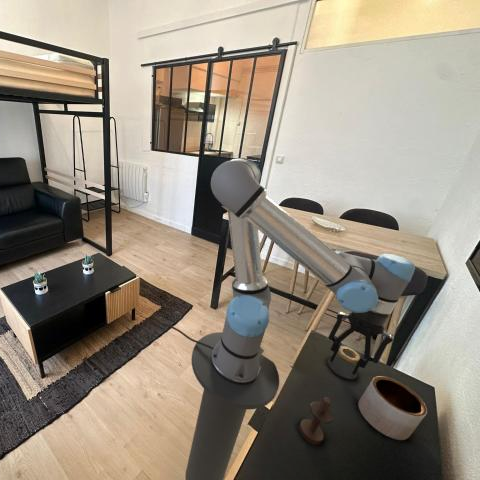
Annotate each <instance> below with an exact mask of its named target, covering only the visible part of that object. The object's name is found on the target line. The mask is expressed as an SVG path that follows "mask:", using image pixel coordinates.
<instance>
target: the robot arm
mask: <svg viewBox="0 0 480 480" xmlns="http://www.w3.org/2000/svg"><path fill="white" fill-rule="evenodd" d="M261 179H262V174H261V170H260V168H259V166H258V165H257V164H256V163H255V162H254V161H253V160H251V159H249V158H246V157H236V158H233V159H230V160H227V161H224V162H222V163H221V164H219V165H218V166H217V167H216V168H215V170H213V173H212V175H211V178H210V189H211V193H212V194H213V195H214V198H215V199H216V200H217V201H218V202H219V203H220V204H221V207H222V208H223V209H225V210H226V211H227V217H228V218H227V219H228V226H229V234H230V242H231V243H230V244H231V250H232V259H233V268H234V275H235V277H234V278H233V279H232V280H231V286H232V288H231V289H232V296H233V298H232V299H231V300H230V302H229V304H228V306H227V308H226V316H225V320H224V324H223V328H222V331H221V332H222V337H221V339H220V340H219V342H218V343H217V344H216V346H215V347H211V346H209V345H206V344H204V343H202V342H199V340H196V339H194V338H191V337H190V336H188V335H187V334H186V333H184V332H183V331H182V330H180V329H178V328H177V327H175V326H172V325H170V324H169V323H167V322H164V323H163V325H164V326H166V327H169V328H170V329H173V330H175V331H177V332H178V333H180V334H181V335H182V336H183V337H185V338H187V339H188V340H189V341H191V342H193V343H195V344H196V343H198V344H201V345H204V346H206V347H208V348H211V349H213V351H212V355H211V362H212V365H213V367H214V369H215V371H216V372H217V373H218V374H219V375H220V376H221V377H222V378H224V379H225V380H227V381H229V382H231V383H234V384H240V385H245V384H250V383H252V382H253V381H255V379H256V378H257V376H258V374H259V371H260V369H261V365H260V366H259V357H258V352H259V349H260V347H261V346H262V342H263V338H264V336H265V333H266V329H268V326H269V321H270V312H269V311H270V305H271V302H272V301H271V300H272V294H271V290H270V288H269V283H268V279H267V278H266V277H265V276H263V268H262V259H261V258H262V257H261V248H260V237H259V235H260V234H259V232H260V233H262V234H263V235H264V236H265V237H267V238H268V239H269V240H270V241H272V243H273V244H275V245H276V246H277V247H279V248H280V249H281V250H282V251H283V252H284V253H285V254H287V255H288V256H289V257H290V258H291V259H293V260H294V261H295V262H296V263H297V264H298V265H299V266H301V267H302V268H304V269H305V270H306V271H307V272H308V273H309V274H311V275H312V276H313V277H314V278H315V279H316V280H318V281H319V282H320V283H321V284H322V285H324V286H325V287H326V288H327V289H328V290H330V291H331V292H332V293H333V294H334V295H335V299H336V300H337V302H338V303H339V305H340V306H341V307H342V308H343V309H344V310H346V311H348V312H349V313H345V312H344V311H342V310H339V311H338V313H337V315H336V321H335V323H334V325H333V327H332V329H331V330H330V332H329V335H328V336H327V338H328V340H330V341H332V344H331V347H330V351H331V352H333V354H332V355H331V357H330V358H331V359H330V361H331V362H333V360H334V358H335V357H336V356H337V354H338V350H339V348H340V346H342V342H343V341H344V340H345V339H346V338H347V337H349V336H350V335H351V334H353V333H354V332H356V333H359V334H361V335H362V336H364V337H365V339H364V353H361V354H360V355H359V356H360V359H359V361H358V362H357V363H355V365H354V366H353V367H354V369H353V372H352V374H354V375H355V374H356V372H357V373H358V371H359V368H362V369H365V368H366V366H367V365H368V363H369V362H372V363H373V364H378V363H379V362H380V360H381V358H382V356H383V354H384V352H385V350H386V348H387V346H388V345H389V344H391V343H392V342H393V341H394V338H395V336H394V334H393V333H388V332H387V331H386V330H385V327H384V326H385V325H386V323H387V322H388V319H389V318H390V317H391V314H392V313H393V311H394V310H395V309H394V308H395V307H396V305H397V303H398V302H399V300H400V298H401V296H402V294H403V292H404V291H405V290H406V288H407V286H408V285H409V283H410V282H411V281H412V277H413V275H414V273H415V270H416V265H415V264H414V263H413V261H411V260H409V259H408V258H405V257H403V256H401V255H397V254H393V253H389V254H388V253H382V254H380V255H379V256H378V257H377V259H375V258H374V259H372V258H367V257H362V256H359V255H356V254H355V255H354V254H350V253H346V252H343V251H339V250H338V251H337V250H334V249H332V248H331V247H330V246H329V245H327V244H326V243H325V242H324V241H323V240H321V239H320V238H319V237H318V236H317V235H316V234H314V233H313V232H311V230H309V229H308V228H307V227H306V226H305V225H303V224H302V223H301V222H300V221H298V220H297V219H296V218H295V217H293V216H292V215H291V214H289V212H287V211H286V210H284V208H282V206H280V205H279V204H278V203H276V202H275V201H274V200H273V199H271V198H270V197H269V196H267V189H266V188H264V187H263V186H262V185H261ZM346 320H348V321H349V326H348V327H347V328H346V329H344V330H343V331H342V332H341V333H340V334H339V335H337V336H336V334H337V332H338V330H339V328H340V327H341V324H342V323H343V321H344V322H345V321H346ZM377 335H381V336H380V337H381V341H380V343H379V345H378V347H377V349H376V351H375V353H374V354H372V344H373V336H377Z"/></svg>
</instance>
